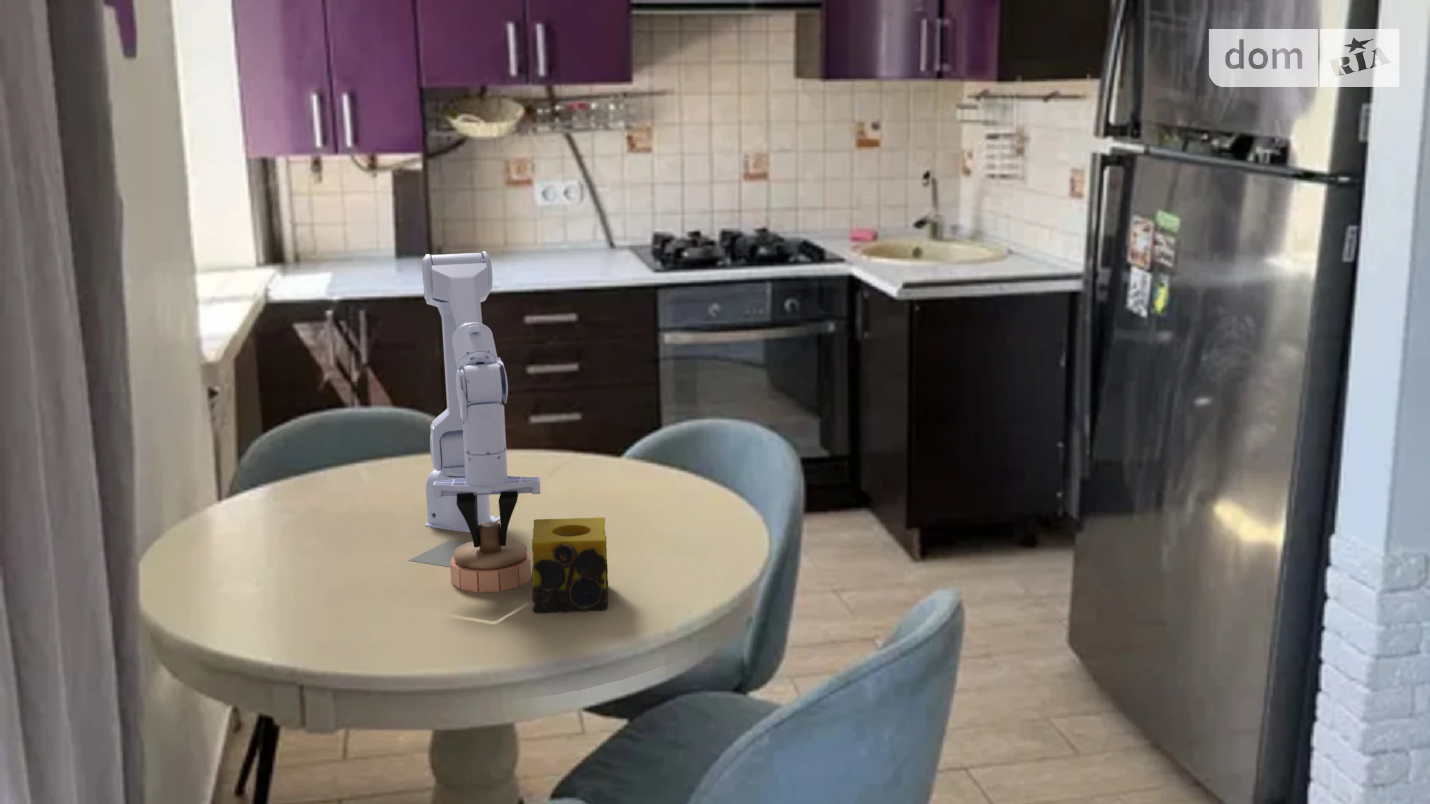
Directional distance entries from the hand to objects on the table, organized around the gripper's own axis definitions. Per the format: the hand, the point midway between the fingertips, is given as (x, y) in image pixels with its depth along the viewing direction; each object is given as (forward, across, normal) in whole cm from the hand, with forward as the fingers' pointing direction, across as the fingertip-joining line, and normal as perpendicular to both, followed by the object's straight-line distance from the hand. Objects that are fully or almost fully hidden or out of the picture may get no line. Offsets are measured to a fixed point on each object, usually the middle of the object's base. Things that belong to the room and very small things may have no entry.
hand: (490, 544), depth 191 cm
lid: (+2, 0, 0) cm, 2 cm away
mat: (+5, -6, +11) cm, 13 cm away
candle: (+6, +11, -9) cm, 15 cm away
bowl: (+5, 0, 0) cm, 5 cm away
